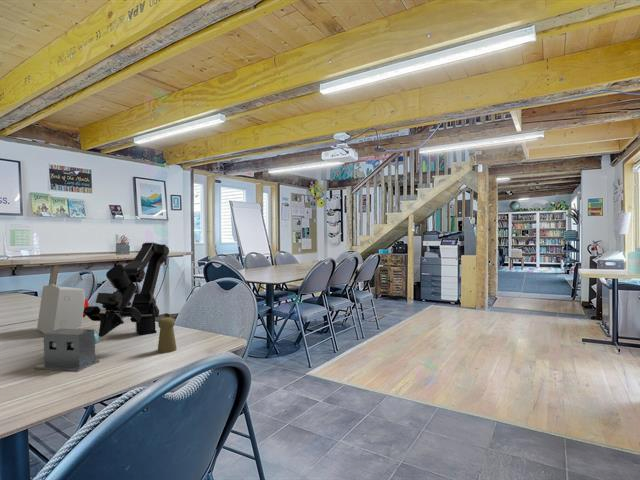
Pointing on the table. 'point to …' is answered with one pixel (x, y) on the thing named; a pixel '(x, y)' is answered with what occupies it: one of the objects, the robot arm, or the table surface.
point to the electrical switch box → (61, 308)
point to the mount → (69, 350)
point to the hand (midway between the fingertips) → (100, 336)
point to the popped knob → (95, 339)
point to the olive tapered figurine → (166, 335)
